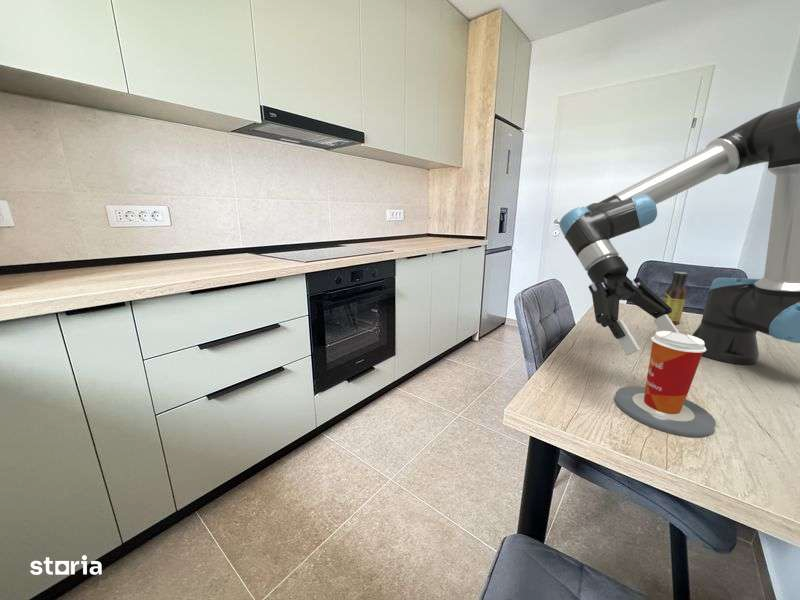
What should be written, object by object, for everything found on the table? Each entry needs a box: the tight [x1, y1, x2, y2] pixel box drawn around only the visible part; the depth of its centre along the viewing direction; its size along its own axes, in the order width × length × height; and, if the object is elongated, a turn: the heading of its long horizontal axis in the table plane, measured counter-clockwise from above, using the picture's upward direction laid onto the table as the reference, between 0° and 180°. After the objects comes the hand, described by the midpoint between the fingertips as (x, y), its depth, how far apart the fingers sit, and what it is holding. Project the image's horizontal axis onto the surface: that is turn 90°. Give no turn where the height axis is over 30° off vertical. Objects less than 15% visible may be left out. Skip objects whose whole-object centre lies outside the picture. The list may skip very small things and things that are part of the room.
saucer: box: [614, 385, 717, 438], centre depth 66 cm, size 16×16×1 cm
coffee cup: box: [644, 330, 706, 414], centre depth 64 cm, size 8×8×15 cm
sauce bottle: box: [663, 271, 689, 326], centre depth 122 cm, size 6×6×20 cm
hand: (656, 348), depth 65 cm, fingers open, 13 cm apart
